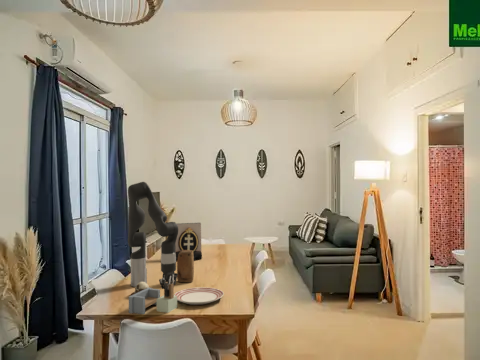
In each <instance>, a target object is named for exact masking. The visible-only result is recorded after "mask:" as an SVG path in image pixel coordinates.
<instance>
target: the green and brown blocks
mask: <svg viewBox="0 0 480 360" xmlns="http://www.w3.org/2000/svg"><path fill="white" fill-rule="evenodd" d="M166 286H167V285H166ZM174 287H175V285H174V284H170V285H169V297H165V289H163V295H162V296H160V298H158V299H156V301H157V305H156V312H161V313H167V314H169V313H170V312H173V311H174V310H176V309H177V308H178V300H177V296H174V294H175V290H174Z"/></svg>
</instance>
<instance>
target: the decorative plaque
mask: <svg viewBox="0 0 480 360" xmlns="http://www.w3.org/2000/svg"><path fill="white" fill-rule="evenodd" d="M176 224H177V225H178V235H177V240H176V243H175V254H176V262H177V259H178V254H179V252H180V251H182V250H192V251H193V255H194V261H197V260H202V259H203V254H202V252H203V251H202V223H201V222H182V223H179V222H178V223H176Z"/></svg>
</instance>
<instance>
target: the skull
mask: <svg viewBox="0 0 480 360" xmlns="http://www.w3.org/2000/svg"><path fill="white" fill-rule="evenodd" d="M147 288H150V286H149V284H148V282H147V283H145V282H140V283H138V284H137V287H134V291H133V292H131V293H130V296H131V295H134V294H136V293H138V292H140V291H142V290H144V289H147Z"/></svg>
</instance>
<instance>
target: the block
mask: <svg viewBox="0 0 480 360" xmlns="http://www.w3.org/2000/svg"><path fill="white" fill-rule="evenodd" d="M176 273H177V274H178V275H177V280H176V281H177V282H179V283H180V282H181V283H192V282H193V281H194V273H195V260H194V255H193V251H192V250H182V251H180V252H179V254H178V259H177V261H176Z"/></svg>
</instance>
